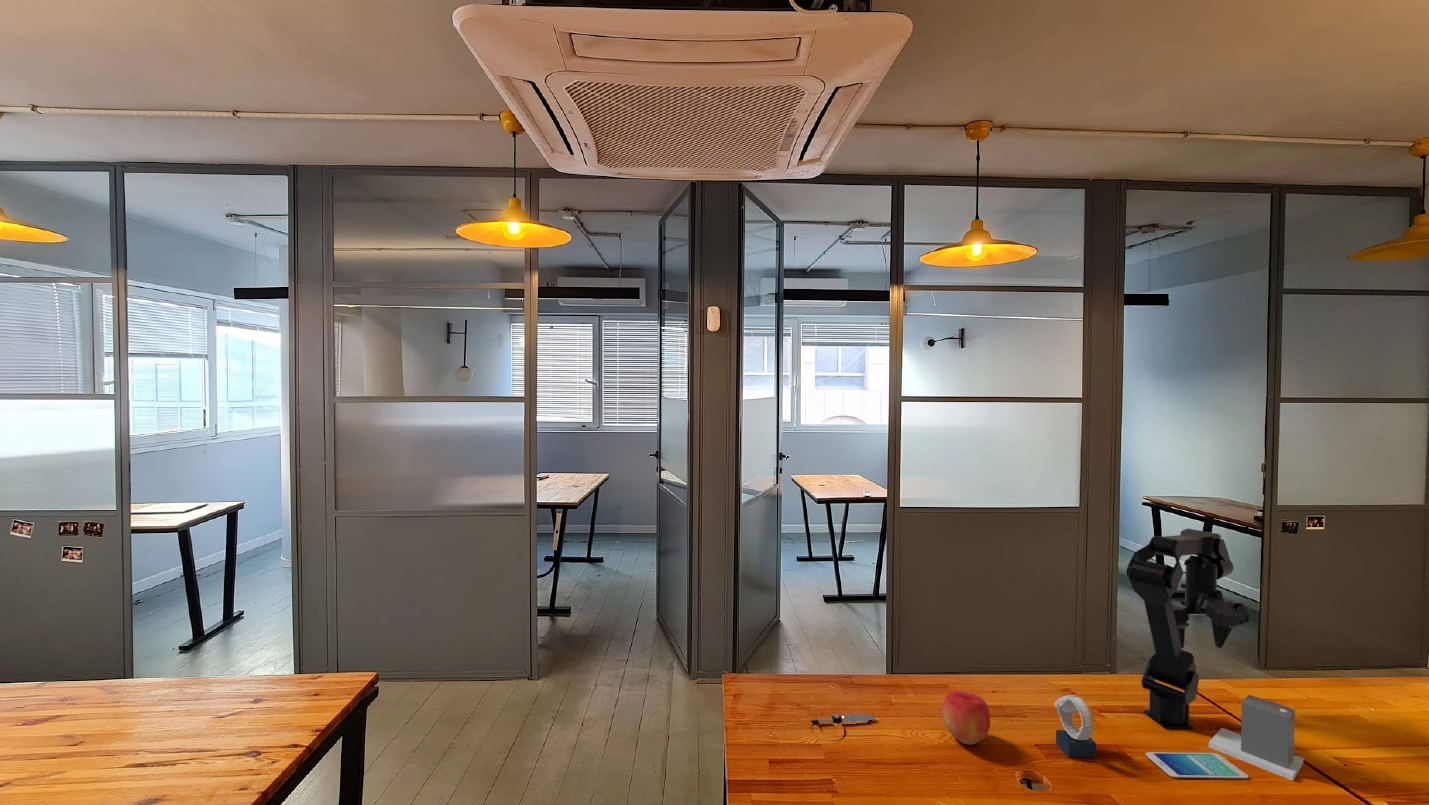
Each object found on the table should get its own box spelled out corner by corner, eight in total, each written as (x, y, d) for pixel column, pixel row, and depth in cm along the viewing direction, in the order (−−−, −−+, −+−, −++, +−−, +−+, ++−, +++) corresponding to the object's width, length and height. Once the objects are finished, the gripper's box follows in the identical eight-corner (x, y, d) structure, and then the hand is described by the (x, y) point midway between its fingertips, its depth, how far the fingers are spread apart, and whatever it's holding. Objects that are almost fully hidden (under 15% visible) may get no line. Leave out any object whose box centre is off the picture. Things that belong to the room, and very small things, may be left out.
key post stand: (1208, 747, 118) (1209, 723, 118) (1221, 732, 123) (1222, 709, 123) (1292, 781, 108) (1293, 755, 108) (1303, 763, 113) (1303, 738, 113)
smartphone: (1251, 777, 108) (1172, 776, 109) (1251, 782, 108) (1172, 780, 109) (1217, 752, 116) (1143, 751, 116) (1217, 756, 116) (1143, 755, 116)
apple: (996, 757, 115) (996, 709, 115) (946, 751, 117) (947, 703, 117) (983, 729, 124) (984, 684, 124) (937, 724, 126) (938, 680, 126)
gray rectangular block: (1240, 750, 115) (1241, 701, 115) (1248, 741, 118) (1249, 693, 118) (1287, 769, 110) (1288, 717, 110) (1293, 759, 113) (1294, 708, 113)
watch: (1076, 739, 121) (1076, 688, 121) (1101, 763, 113) (1102, 709, 113) (1050, 738, 121) (1050, 688, 121) (1073, 763, 113) (1074, 709, 113)
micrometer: (817, 744, 120) (817, 733, 120) (807, 725, 127) (808, 713, 127) (884, 739, 122) (885, 727, 122) (871, 719, 129) (871, 708, 129)
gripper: (1191, 595, 127) (1189, 664, 127) (1273, 595, 127) (1271, 663, 127) (1152, 579, 138) (1151, 642, 138) (1227, 578, 138) (1226, 641, 139)
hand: (1199, 647), depth 135 cm, fingers open, 9 cm apart
